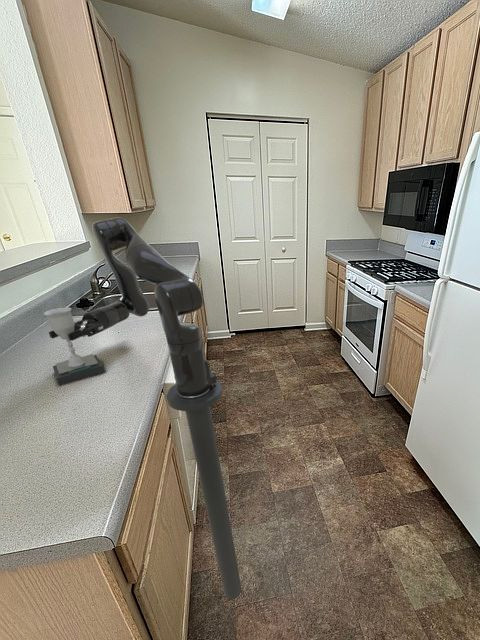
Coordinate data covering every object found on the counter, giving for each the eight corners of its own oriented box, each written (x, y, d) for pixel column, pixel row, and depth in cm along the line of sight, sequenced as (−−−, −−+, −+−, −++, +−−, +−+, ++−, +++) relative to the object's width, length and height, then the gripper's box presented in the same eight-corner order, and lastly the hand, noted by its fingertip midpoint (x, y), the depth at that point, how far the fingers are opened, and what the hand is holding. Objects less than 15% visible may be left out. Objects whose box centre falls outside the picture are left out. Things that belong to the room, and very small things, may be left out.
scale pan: (93, 355, 116) (92, 354, 116) (98, 364, 110) (98, 362, 110) (56, 365, 110) (55, 363, 110) (59, 375, 104) (58, 373, 104)
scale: (98, 361, 118) (95, 353, 117) (105, 372, 111) (102, 363, 109) (55, 372, 111) (51, 364, 109) (59, 385, 103) (55, 376, 102)
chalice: (81, 356, 114) (63, 306, 106) (93, 360, 111) (76, 309, 103) (59, 365, 109) (38, 313, 100) (71, 369, 106) (51, 316, 97)
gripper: (82, 307, 117) (37, 323, 103) (115, 310, 114) (73, 327, 100) (89, 327, 121) (46, 345, 107) (121, 330, 117) (81, 349, 103)
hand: (59, 336), depth 103 cm, fingers open, 7 cm apart
